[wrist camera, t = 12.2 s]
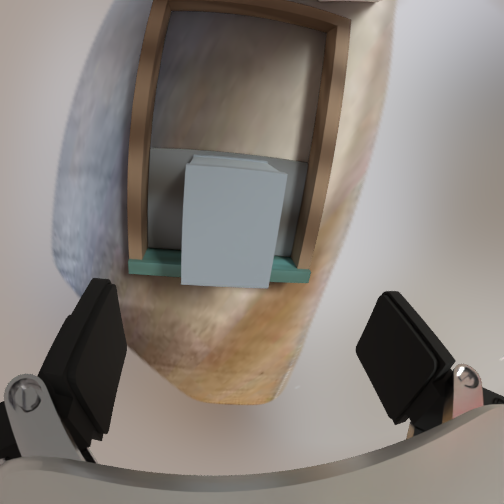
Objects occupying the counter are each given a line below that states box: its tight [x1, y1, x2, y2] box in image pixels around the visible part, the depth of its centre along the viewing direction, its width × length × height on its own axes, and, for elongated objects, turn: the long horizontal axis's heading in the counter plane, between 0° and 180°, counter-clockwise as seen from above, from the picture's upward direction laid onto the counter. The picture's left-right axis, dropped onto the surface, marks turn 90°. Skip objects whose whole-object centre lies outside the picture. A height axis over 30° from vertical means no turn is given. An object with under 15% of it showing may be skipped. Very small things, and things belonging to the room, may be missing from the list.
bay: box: [127, 0, 351, 283], centre depth 20 cm, size 25×16×3 cm, turn 172°
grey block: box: [181, 154, 288, 288], centre depth 21 cm, size 8×6×7 cm
